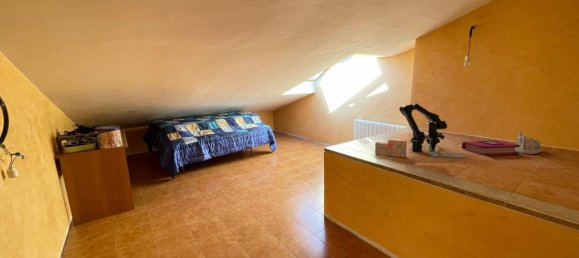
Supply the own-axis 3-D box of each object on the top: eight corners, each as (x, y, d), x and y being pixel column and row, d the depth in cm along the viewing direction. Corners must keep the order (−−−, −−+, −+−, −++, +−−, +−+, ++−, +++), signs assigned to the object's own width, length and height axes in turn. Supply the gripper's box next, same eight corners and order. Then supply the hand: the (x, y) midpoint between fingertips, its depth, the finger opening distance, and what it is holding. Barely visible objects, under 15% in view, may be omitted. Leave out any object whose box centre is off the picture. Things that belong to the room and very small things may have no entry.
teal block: (428, 151, 193) (429, 145, 192) (427, 149, 198) (427, 143, 197) (435, 151, 192) (436, 145, 191) (434, 150, 197) (434, 143, 196)
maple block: (436, 154, 178) (437, 148, 177) (434, 153, 182) (434, 146, 182) (444, 155, 176) (444, 148, 175) (442, 153, 181) (442, 147, 180)
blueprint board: (432, 157, 175) (432, 155, 175) (427, 153, 187) (428, 152, 187) (464, 158, 170) (464, 157, 170) (457, 154, 181) (457, 153, 181)
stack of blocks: (374, 154, 187) (375, 139, 185) (376, 153, 192) (376, 137, 190) (405, 157, 176) (406, 141, 174) (406, 155, 181) (406, 139, 180)
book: (461, 149, 197) (461, 140, 196) (494, 148, 198) (495, 139, 197) (482, 156, 176) (483, 145, 175) (519, 154, 177) (520, 144, 176)
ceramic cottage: (521, 153, 179) (523, 133, 177) (511, 148, 194) (512, 130, 192) (549, 154, 173) (551, 134, 171) (536, 149, 188) (538, 130, 186)
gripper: (448, 131, 181) (447, 152, 184) (440, 128, 199) (439, 146, 201) (431, 131, 184) (430, 151, 187) (425, 128, 202) (424, 146, 204)
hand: (431, 149), depth 195 cm, fingers open, 8 cm apart
